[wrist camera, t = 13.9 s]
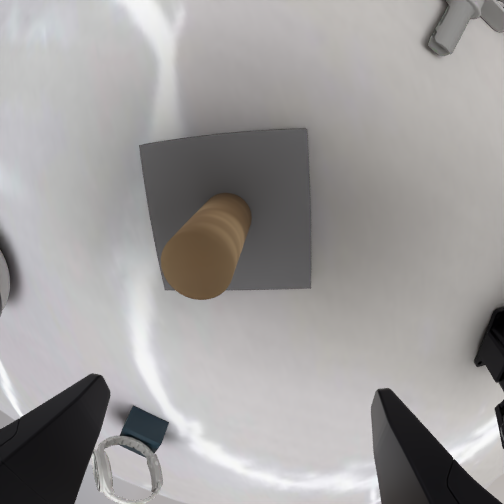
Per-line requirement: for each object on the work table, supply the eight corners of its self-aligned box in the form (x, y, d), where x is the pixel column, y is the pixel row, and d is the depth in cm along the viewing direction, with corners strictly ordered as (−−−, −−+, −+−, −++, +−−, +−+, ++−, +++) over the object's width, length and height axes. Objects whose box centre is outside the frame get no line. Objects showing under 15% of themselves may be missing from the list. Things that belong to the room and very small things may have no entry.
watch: (117, 397, 29) (78, 475, 19) (183, 428, 30) (157, 511, 20) (111, 417, 31) (77, 486, 21) (169, 445, 32) (146, 518, 22)
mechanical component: (507, 104, 12) (540, 13, 8) (374, -12, 10) (429, -87, 7) (481, 103, 15) (517, 18, 11) (361, 4, 13) (414, -71, 9)
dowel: (249, 191, 18) (229, 229, 12) (253, 239, 19) (236, 299, 13) (199, 194, 18) (154, 233, 12) (205, 241, 19) (168, 299, 13)
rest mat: (305, 128, 17) (307, 128, 16) (309, 280, 21) (310, 288, 20) (145, 144, 18) (139, 145, 17) (169, 283, 22) (165, 290, 21)
